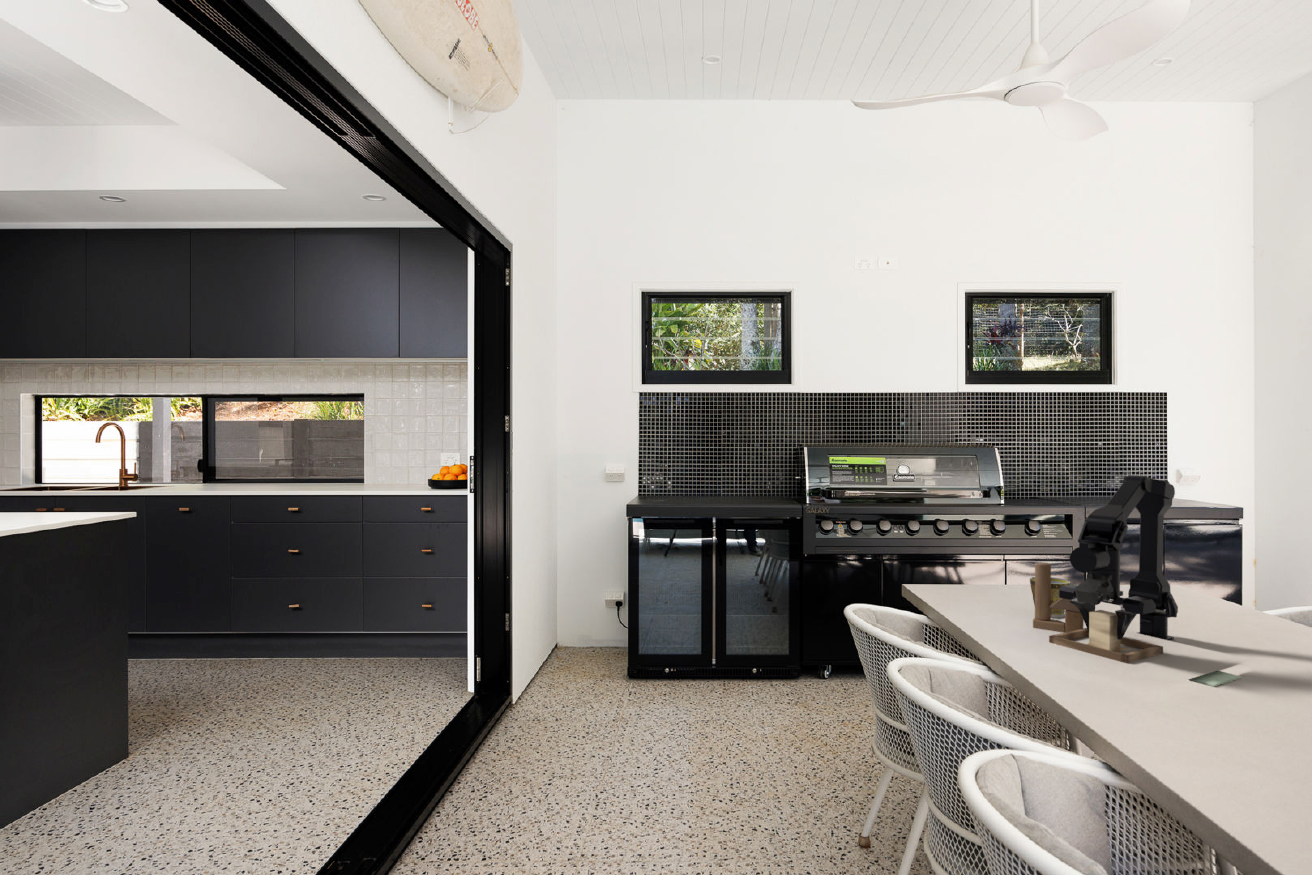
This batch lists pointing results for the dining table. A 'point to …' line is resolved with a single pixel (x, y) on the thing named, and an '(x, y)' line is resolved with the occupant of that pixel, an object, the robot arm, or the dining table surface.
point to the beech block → (1103, 630)
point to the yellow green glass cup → (1052, 594)
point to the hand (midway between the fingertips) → (1104, 635)
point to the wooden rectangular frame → (1066, 641)
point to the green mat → (1215, 678)
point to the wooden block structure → (1044, 604)
